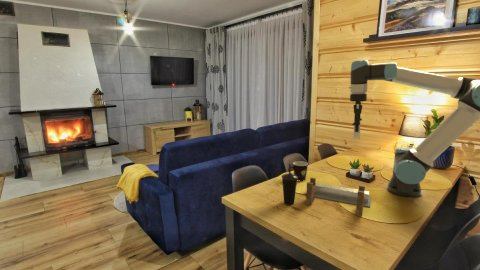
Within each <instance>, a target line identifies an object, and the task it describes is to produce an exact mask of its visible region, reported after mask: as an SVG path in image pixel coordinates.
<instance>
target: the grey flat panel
mask: <svg viewBox="0 0 480 270" xmlns="http://www.w3.org/2000/svg"><path fill="white" fill-rule="evenodd" d="M315 198H318V199H322V200H327V201H335V202H338V203H343V202H345V204H348V203H350V205H354V204H355V205H354V206H357V200H352V199H347V198H341V197H336V196H330V195H325V194H319V193H315ZM371 199H372V196H370V195H369V199H368V202H364V204H363V207H364V206H366V207H365V208H371V203H372V202H371V201H372V200H371Z"/></svg>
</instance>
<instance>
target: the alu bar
mask: <svg viewBox="0 0 480 270" xmlns="http://www.w3.org/2000/svg"><path fill="white" fill-rule="evenodd" d="M358 190H359V189H358V188H350V187H344V186H338V185H332V184H326V183H320V182H316V186H315V193H319V194H325V195H330V196H336V197H341V198H347V199H352V200H357V196H358ZM369 196H370V191H368V190H365V193H364V202H368V199H369Z"/></svg>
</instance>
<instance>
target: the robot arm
mask: <svg viewBox="0 0 480 270" xmlns="http://www.w3.org/2000/svg"><path fill="white" fill-rule="evenodd" d="M350 65H351V66H350V86H349V87H348V89H350V90H349V91H350V94H349V102H354V103H355V104H353V114H354V119H353V123H352V126H353V139H359V140H360V136H361V135H360V134H361V121H363V118H362V117H361V114H362V111H363V104H362V102H367V101H368V100H367V99H368V94H367V92H368V81H386V82H390V83H394V84H400V85H404V86H409V87H411V88H412V87H413V88H418V89H423V90H427V91H431V92H435V93H441V94H445V95H447V96H450V98H453V99H456V100H457V107H456V108H455V109H454V110H453V111H451V113H450V114H449V115H448V116H447V117H446V118H445V119H444V120H443V121H442V122H440V124H439V125H438V126H437V127H436V128H434V130H433V131H431V133H429V135H428V136H427V137H425V138H424V140H423V141H422V142H420V143H419V144H418V145H417V147H416V148H410V147H409V148H408V147H407V148H406V147H397V148H395V150H394V159H393V165H392V166H393V168H392V174H391V175H392V176H391V177H390V178H389V180H388V183H387V190H388V191H389V192H391V193H393V194H395V195H398V196H401V197H410V198H412V197H413V198H414V197H415V198H416V197H420V196H421V195H422V188H421V182H423V181H424V179H425V178H426V175H427V173H428V172H429V171H430V170H432V168H434V161H435V160H436V159H438V157H439V156H441V155H442V153H444V152H445V151H446V150H447V149H448V148H449V147H450V146H451V145H452V144H454V143H455V141H456V140H457V139H459V138H460V137H461V136H462V135H463V134H464V133H465V132H466V131H467V130H469V128H471V127H472V126H473V125H474V124H475V123H476V122H477V121H478V120H480V78H468V77H464V76H461V77H459V78H456V77H450V76H447V75H442V74H441V75H440V74H435V73H431V72H426V71H425V72H424V71H420V70H415V69H410V68H405V67H400V66H398V63H397V62H384V63H373V64H371V63H369V61H368V59H367V60H366V59H364V60H363V59H362V60H361V59H360V60H353V61H352V62H351V64H350Z"/></svg>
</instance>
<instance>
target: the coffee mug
mask: <svg viewBox="0 0 480 270" xmlns="http://www.w3.org/2000/svg"><path fill="white" fill-rule="evenodd" d="M308 165H309V164H308V162H307V161H301V160H299V161H298V160H297V161H293V163H292V166H291V169H293V173H291V172H290V173H291V174H294V175H297V176H298V179H297V180H300V181H299V182H304V181H303V180H305V181H306V180H307V179H306V178H307V172H308ZM288 172H289V169H288Z"/></svg>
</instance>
